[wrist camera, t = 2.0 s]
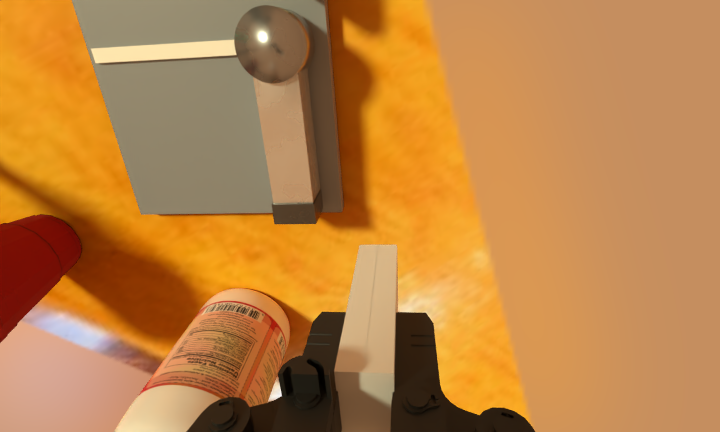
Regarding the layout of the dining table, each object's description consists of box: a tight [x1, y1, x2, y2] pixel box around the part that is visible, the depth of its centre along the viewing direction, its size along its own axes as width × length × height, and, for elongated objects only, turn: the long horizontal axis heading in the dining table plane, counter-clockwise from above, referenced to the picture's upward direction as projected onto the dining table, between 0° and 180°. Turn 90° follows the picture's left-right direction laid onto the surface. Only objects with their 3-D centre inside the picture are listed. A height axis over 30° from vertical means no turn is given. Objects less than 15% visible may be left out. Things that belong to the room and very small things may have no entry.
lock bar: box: [234, 5, 323, 224], centre depth 27 cm, size 14×4×3 cm, turn 3°
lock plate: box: [72, 0, 344, 214], centre depth 27 cm, size 26×18×5 cm
